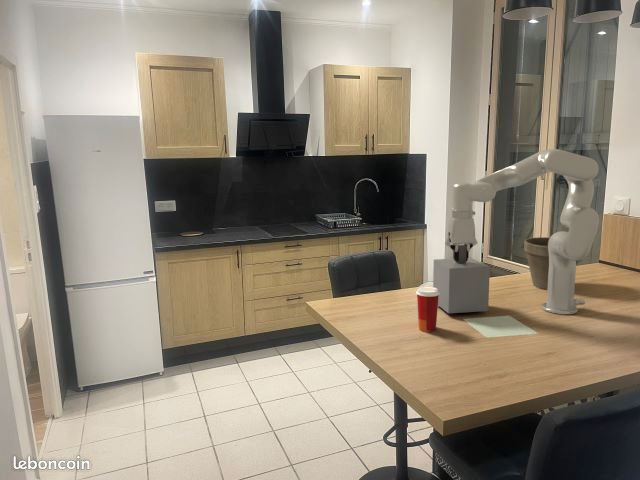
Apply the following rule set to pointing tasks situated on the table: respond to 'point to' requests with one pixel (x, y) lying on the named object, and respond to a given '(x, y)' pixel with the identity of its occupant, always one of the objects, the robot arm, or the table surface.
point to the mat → (499, 326)
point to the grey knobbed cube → (462, 283)
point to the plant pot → (538, 260)
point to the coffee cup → (427, 308)
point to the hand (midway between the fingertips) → (460, 260)
